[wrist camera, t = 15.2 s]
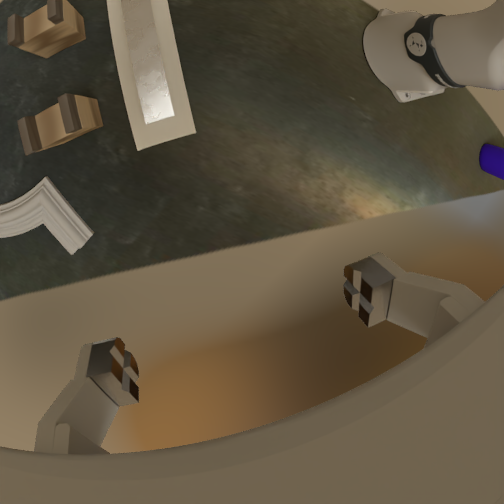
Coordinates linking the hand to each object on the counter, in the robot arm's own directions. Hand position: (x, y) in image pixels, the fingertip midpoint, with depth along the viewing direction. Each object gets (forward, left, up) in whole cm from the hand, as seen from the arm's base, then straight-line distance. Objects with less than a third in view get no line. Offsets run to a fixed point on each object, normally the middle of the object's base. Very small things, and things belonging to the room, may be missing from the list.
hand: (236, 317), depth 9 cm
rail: (+2, -18, -30) cm, 35 cm away
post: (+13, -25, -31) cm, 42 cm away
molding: (+36, -4, -32) cm, 48 cm away
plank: (+2, -18, -31) cm, 36 cm away
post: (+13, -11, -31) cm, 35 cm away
